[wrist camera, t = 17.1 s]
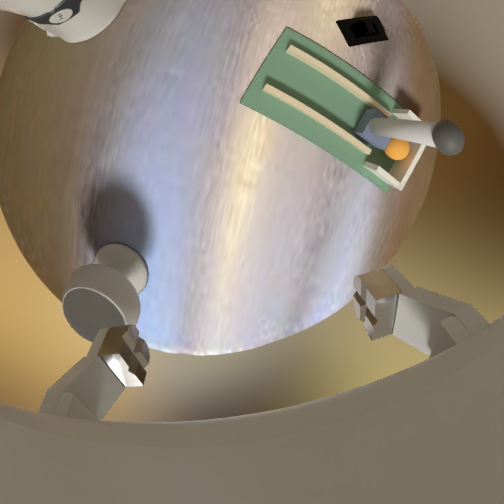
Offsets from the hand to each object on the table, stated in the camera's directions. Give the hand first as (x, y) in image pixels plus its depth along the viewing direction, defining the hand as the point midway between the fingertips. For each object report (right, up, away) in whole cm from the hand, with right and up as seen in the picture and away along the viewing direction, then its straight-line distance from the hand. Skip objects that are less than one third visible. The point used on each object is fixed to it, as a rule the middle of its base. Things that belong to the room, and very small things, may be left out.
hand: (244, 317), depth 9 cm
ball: (+25, +21, +30) cm, 45 cm away
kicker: (+21, +24, +31) cm, 44 cm away
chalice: (-26, -1, +40) cm, 48 cm away
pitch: (+16, +26, +30) cm, 43 cm away
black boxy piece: (+20, +42, +23) cm, 52 cm away
